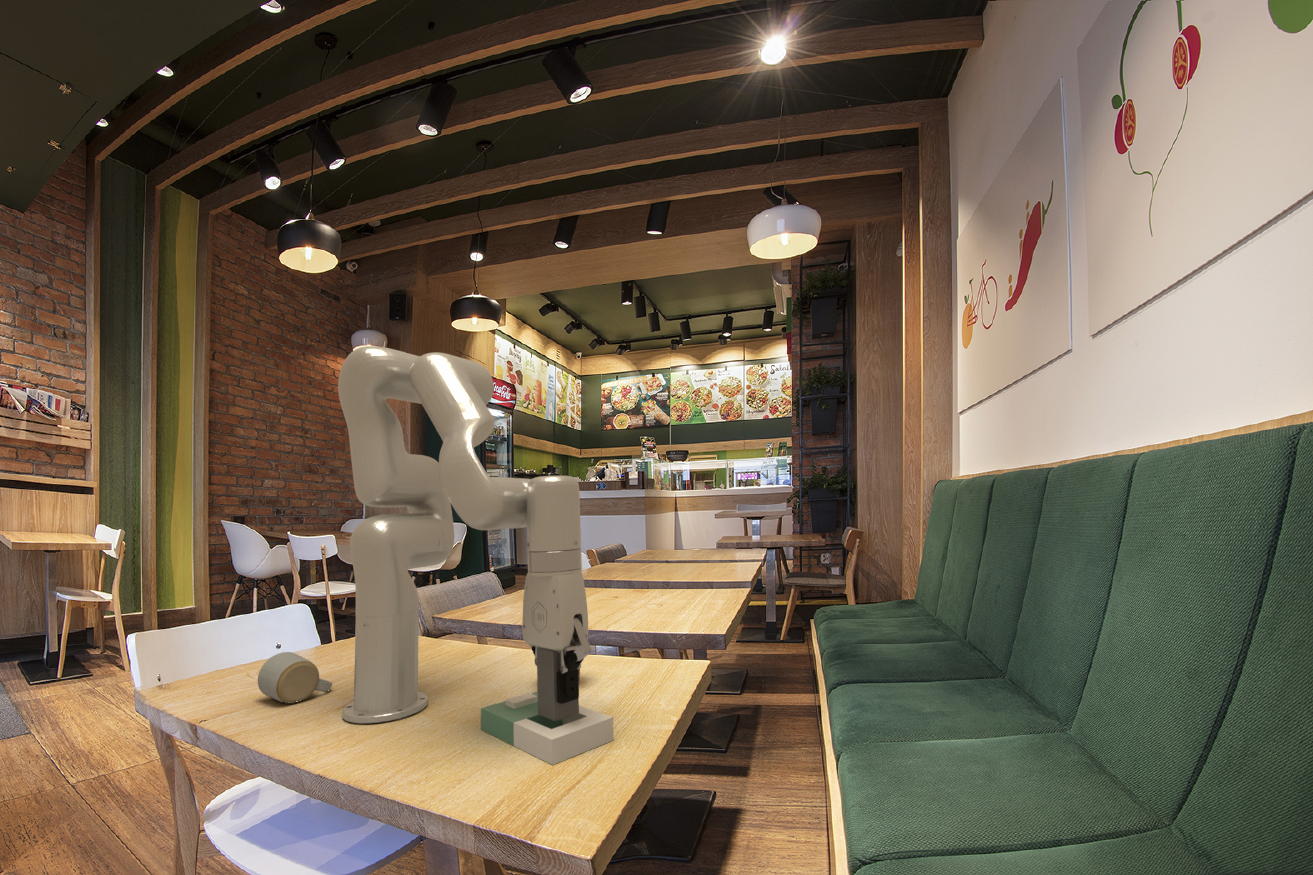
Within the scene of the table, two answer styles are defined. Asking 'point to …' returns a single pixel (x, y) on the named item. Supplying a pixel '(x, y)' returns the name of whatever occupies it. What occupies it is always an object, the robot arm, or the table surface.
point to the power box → (546, 729)
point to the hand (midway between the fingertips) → (558, 696)
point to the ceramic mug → (290, 678)
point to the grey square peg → (551, 687)
